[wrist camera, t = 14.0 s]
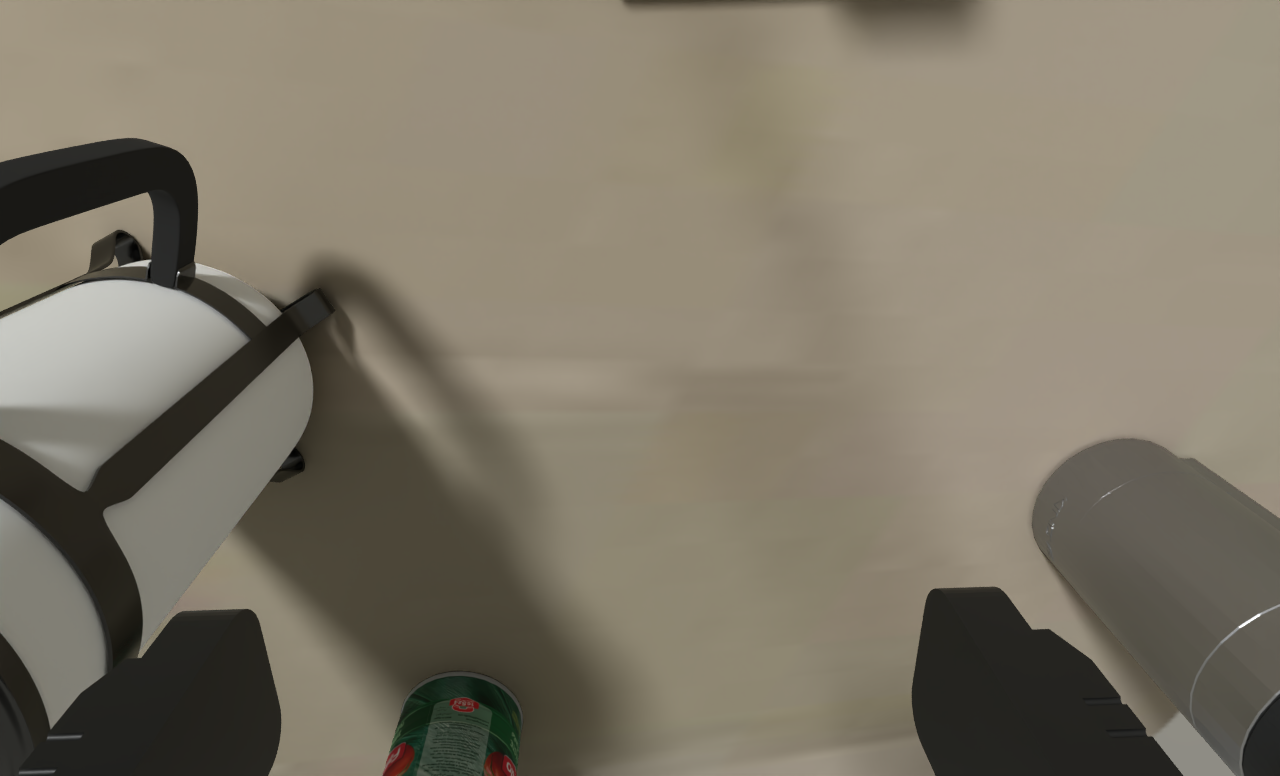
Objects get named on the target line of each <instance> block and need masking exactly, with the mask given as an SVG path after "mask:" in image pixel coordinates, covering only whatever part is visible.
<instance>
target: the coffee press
mask: <svg viewBox="0 0 1280 776" xmlns="http://www.w3.org/2000/svg"><path fill="white" fill-rule="evenodd" d="M146 192H148V193H149V195H150V198H151V200H152V204H153V211H154V227H153V242H152V255H151V260H144V261H143V256H142V251H141V248H140V246H139V244H138V242H137V241H136V240H135V239H134V238H133V237H132V236H131V235H130V234H129V233H127V232H125V231H123V230H117V231H115V232H113V233H111V234H109V235H108V236H106V237H104V238H102V239H101V240H99V241H97V242H95V243H94V244H93V245H92V250H91V261H90V267H89V270H88V272H87V274H84V275H82V276H80V277H78V278H75V279H73V280H71V281H69V282H66V283H64V284H62V285H60V286H57V287H55V288H53V289H51V290H48V291H46V292H44V293H42V294H39V295H37V296H35V297H33V298H30V299H28V300H26V301H23V302H21V303H19V304H17V305H14V306H12V307H10V308H8V309H5V310H3V311H1V312H0V776H18V774H19V768H20V767H21V765H22V764H23V763H24V762H25V760H26V759H27V758H28V757H29V756H30V754H31V753H32V752H33V751H34V749H35V748H36V747H37V746H38V745H39V743H40V742H46V740H47V737H48V735H47V734H48V732H49V731H50V730H51V729H52V727H53V726H54V725H55V724H56V723H57V721H58V720H59V719H60V718H61V716H62V715H63V714H64V713H65V711H66V710H67V709H68V708H69V707H70V705H71V704H72V703H73V702H74V700H75V699H76V698H77V697H78V696H79V694H80V693H81V692H83V691H84V690H85V689H87V688H88V687H89V686H91V685H92V684H93V683H95V682H96V681H97V680H99V679H100V678H101V677H103V676H104V675H106V674H107V673H108V672H110V671H111V670H112V669H114V668H115V667H116V666H118V665H119V664H120V663H122V662H123V661H124V660H126V659H129V658H137V657H138V654H139V651H140V650H141V649H142V647H143V646H144V645H145V643H146V642H147V641H148V639H149V638H150V637H151V636H152V634H153V633H154V632H155V630H156V629H157V628H158V626H159V625H160V624H161V622H162V621H163V620H164V619H165V617H166V616H167V615H168V613H169V612H170V611H171V609H172V608H173V607H174V605H175V604H176V603H177V602H178V600H179V599H180V598H181V596H182V595H183V594H184V592H185V591H186V590H187V588H188V587H189V586H190V585H191V583H192V582H193V581H194V579H195V578H196V577H197V575H198V574H199V573H200V571H201V570H202V569H203V567H204V566H205V565H206V564H207V562H208V561H209V560H210V558H211V557H212V556H213V554H214V553H215V552H216V550H217V549H218V548H219V547H220V545H221V544H222V543H223V541H224V540H225V539H226V537H227V536H228V535H229V533H230V532H231V531H232V529H233V528H234V527H235V526H236V524H237V523H238V522H239V520H240V519H241V518H242V516H243V515H244V514H245V512H246V511H247V510H248V508H249V507H250V506H251V505H252V503H253V502H254V501H255V499H256V498H257V497H258V495H259V494H260V493H261V491H262V490H263V489H264V487H265V486H266V485H267V484H268V482H269V481H270V482H283V481H285V480H287V479H289V478H291V477H293V476H295V475H297V474H299V473H301V472H303V471H304V469H305V462H304V459H303V457H302V455H301V454H300V452H299V451H298V450H297V449H295V448H294V447H295V446H296V444H297V443H298V441H299V439H300V438H301V436H302V434H303V432H304V430H305V428H306V426H307V423H308V420H309V417H310V414H311V409H312V403H313V379H312V372H311V368H310V364H309V360H308V357H307V354H306V352H305V349H304V347H303V345H302V343H301V341H300V339H299V337H300V336H301V335H302V334H303V333H304V332H306V331H307V330H309V329H310V328H311V327H313V326H314V325H316V324H317V323H319V322H320V321H322V320H323V319H325V318H326V317H328V316H329V315H330V314H332V313H333V312H334V311H335V309H334V307H333V306H332V304H331V303H330V302H329V300H328V299H327V297H326V296H325V294H324V293H323V291H322V290H321V289H320V288H318V289H315V290H313V291H311V292H310V293H308V294H306V295H304V296H303V297H301V298H299V299H298V300H296V301H294V302H293V303H291V304H290V305H288V306H286V307H285V308H283V309H281V310H279V309H278V308H277V307H276V306H275V305H274V304H273V303H272V302H271V301H269V300H268V299H267V298H266V297H265V296H264V295H262V294H261V293H260V292H259V291H257V290H256V289H254V288H253V287H252V286H250V285H248V284H247V283H245V282H244V281H242V280H240V279H238V278H236V277H234V276H232V275H230V274H228V273H225V272H223V271H220V270H218V269H215V268H212V267H208V266H205V265H201V264H197V263H195V262H194V255H195V246H196V236H197V222H198V194H197V186H196V180H195V176H194V173H193V170H192V168H191V166H190V164H189V162H188V161H187V160H186V158H185V157H184V156H183V155H182V154H181V153H179V152H178V151H176V150H174V149H172V148H169V147H166V146H163V145H160V144H157V143H153V142H150V141H147V140H142V139H137V138H124V139H114V140H107V141H101V142H95V143H90V144H85V145H79V146H74V147H69V148H64V149H59V150H54V151H49V152H44V153H39V154H34V155H30V156H25V157H21V158H16V159H12V160H8V161H4V162H0V245H1V244H3V243H4V242H6V241H7V240H9V239H11V238H13V237H15V236H17V235H19V234H21V233H24V232H26V231H29V230H32V229H35V228H37V227H40V226H43V225H46V224H49V223H52V222H55V221H58V220H61V219H64V218H68V217H71V216H74V215H77V214H80V213H83V212H86V211H89V210H92V209H95V208H98V207H101V206H105V205H108V204H111V203H114V202H117V201H120V200H123V199H126V198H129V197H133V196H136V195H139V194H142V193H146ZM114 254H115V256H116V258H117V260H118V265H119V267H117V268H110V269H105V270H103V269H104V268H106V267H108V266H109V265H110V264H111V263H112V261H113V259H114ZM82 281H84V282H82ZM79 282H82V283H79ZM77 283H79V284H77ZM75 284H77V285H75ZM73 285H75V286H73ZM71 286H73V287H71ZM69 287H70V288H69ZM67 288H68V289H67ZM64 289H66V290H64ZM62 290H64V291H62ZM60 291H62V292H60ZM58 292H59V293H58ZM56 293H57V294H56ZM54 294H55V295H54ZM51 295H53V296H51ZM49 296H51V297H49ZM47 297H48V298H47ZM45 298H46V299H45ZM43 299H44V300H43ZM40 300H42V301H40ZM38 301H39V302H38ZM36 302H37V303H36ZM34 303H35V304H34ZM32 304H33V305H32ZM29 305H31V306H29ZM27 306H28V307H27ZM25 307H26V308H25ZM23 308H24V309H23ZM21 309H22V310H21ZM18 310H20V311H18ZM16 311H17V312H16ZM14 312H15V313H14ZM12 313H13V314H12ZM10 314H11V315H10ZM7 315H9V316H7ZM5 316H6V317H5ZM3 317H4V318H3ZM1 318H2V319H1ZM280 466H281V467H282V469H279V468H280ZM278 469H279V470H278Z"/></svg>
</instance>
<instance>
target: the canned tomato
mask: <svg viewBox="0 0 1280 776" xmlns="http://www.w3.org/2000/svg"><path fill="white" fill-rule="evenodd" d="M522 725H523V715H522V709H521V707H520V704H519V702H518V700H517V699H516V697H515V696H514V694H513V693H512V692H511V691H510V690H509V689H508V688H507V687H506V686H504V685H503V684H501V683H499V682H498V681H496V680H494V679H492V678H490V677H487V676H485V675H481V674H477V673H473V672H463V671H459V672H447V673H442V674H438V675H435V676H432V677H430V678H427V679H426V680H424V681H422V682H421V683H419V684H418V685H417V686H416V687H415V688H413V689H412V690H411V691H410V693H409V694H408V696H407V697H406V699H405V701H404V704H403V706H402V709H401V717H400V720H399V722H398V725H397V728H396V732H395V735H394V738H393V741H392V746H391V748H390V751H389V756H388V759H387V761H386V766H385V769H384V772H383V776H516V772H517V765H518V756H519V747H520V735H521V731H522Z"/></svg>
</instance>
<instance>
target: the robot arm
mask: <svg viewBox="0 0 1280 776" xmlns="http://www.w3.org/2000/svg"><path fill="white" fill-rule="evenodd" d="M1032 527H1033V533H1034V538H1035V540H1036V542H1037V544H1038V546H1039V548H1040V549H1041V551H1042V552H1043V553H1044V554H1045V555H1046V556H1047V558H1048V559H1049V560H1050V561H1051V562H1052V563H1053V565H1054V566H1055V567H1056V568H1057V569H1058V570H1059V572H1060V573H1061V574H1062V575H1063V576H1064V577H1065V578H1066V580H1067V581H1068V582H1069V583H1070V584H1071V585H1072V587H1073V588H1074V589H1075V590H1076V592H1077V593H1078V594H1079V595H1080V596H1081V598H1082V599H1083V600H1084V601H1085V602H1086V603H1087V604H1088V606H1089V607H1090V608H1091V609H1092V610H1093V611H1094V613H1095V614H1096V615H1097V616H1098V617H1099V618H1100V620H1101V621H1102V622H1103V623H1104V624H1105V625H1106V626H1107V628H1108V629H1109V630H1110V631H1111V632H1112V633H1113V635H1114V636H1115V637H1116V638H1117V639H1118V640H1119V641H1120V643H1121V644H1122V645H1123V646H1124V647H1125V648H1126V650H1127V651H1128V652H1129V653H1130V654H1131V655H1132V657H1133V658H1134V659H1135V660H1136V661H1137V662H1138V663H1139V665H1140V666H1141V667H1142V668H1143V669H1144V670H1145V672H1146V673H1147V674H1148V675H1149V676H1150V677H1151V678H1152V680H1153V681H1154V682H1155V683H1156V684H1157V685H1158V687H1159V688H1160V689H1161V690H1162V691H1163V692H1164V694H1165V695H1166V696H1167V697H1168V698H1169V699H1170V700H1171V702H1172V703H1173V704H1174V705H1175V706H1176V707H1177V709H1178V710H1179V711H1180V712H1181V713H1182V714H1183V715H1184V716H1185V718H1186V719H1187V720H1188V721H1189V722H1190V723H1191V725H1192V726H1193V727H1194V728H1195V729H1196V730H1197V732H1198V733H1199V734H1200V735H1201V736H1202V737H1203V738H1204V739H1205V741H1206V742H1207V743H1208V744H1209V745H1210V746H1211V747H1212V749H1213V750H1214V751H1215V752H1216V753H1217V754H1218V756H1220V758H1221V759H1222V760H1223V761H1224V762H1225V764H1226V765H1227V766H1228V767H1229V768H1230V769H1231V771H1232V772H1233V773H1234V774H1235V775H1236V776H1280V518H1278V517H1277V516H1276V515H1274V514H1273V513H1271V512H1270V511H1268V510H1267V509H1266V508H1264V507H1263V506H1261V505H1260V504H1258V503H1257V502H1256V501H1254V500H1253V499H1251V498H1250V497H1248V496H1247V495H1246V494H1244V493H1243V492H1241V491H1240V490H1238V489H1237V488H1236V487H1234V486H1233V485H1231V484H1230V483H1228V482H1227V481H1226V480H1224V479H1223V478H1221V477H1220V476H1218V475H1217V474H1216V473H1214V472H1213V471H1211V470H1210V469H1208V468H1207V467H1206V466H1204V465H1203V464H1201V463H1200V462H1198V461H1197V460H1196V459H1193V458H1190V459H1182V458H1178V457H1176V456H1175V455H1174V454H1172V453H1171V452H1169V451H1168V450H1167V449H1165V448H1164V447H1162V446H1160V445H1157V444H1155V443H1152V442H1150V441H1145V440H1139V439H1117V440H1113V441H1108V442H1103V443H1100V444H1097V445H1095V446H1092V447H1090V448H1087V449H1085V450H1083V451H1081V452H1080V453H1078V454H1077V455H1075V456H1073V457H1072V458H1070V459H1069V460H1067V461H1066V462H1065V463H1064V464H1063V465H1062V466H1060V467H1059V468H1058V469H1057V470H1056V471H1055V472H1054V473H1053V474H1052V476H1051V477H1050V478H1049V479H1048V480H1047V482H1046V483H1045V484H1044V486H1043V488H1042V490H1041V492H1040V493H1039V495H1038V497H1037V500H1036V503H1035V506H1034V510H1033V518H1032ZM912 708H913V715H914V721H915V726H916V729H917V733H918V736H919V739H920V742H921V744H922V746H923V749H924V751H925V753H926V755H927V757H928V760H929V762H930V764H931V766H932V768H933V771H934V773H935V775H936V776H1183V775H1182V774H1181V772H1180V771H1179V770H1178V768H1177V767H1176V766H1175V765H1174V764H1173V762H1172V761H1171V760H1170V758H1169V757H1168V756H1167V755H1166V753H1165V752H1164V751H1163V749H1162V748H1161V747H1160V746H1159V744H1158V743H1157V742H1156V741H1155V740H1154V738H1153V737H1148V736H1147V734H1146V728H1145V727H1144V726H1143V724H1142V723H1141V722H1140V720H1139V719H1138V718H1137V717H1136V715H1135V714H1134V713H1133V712H1132V710H1131V709H1130V708H1129V707H1128V705H1127V704H1122V703H1121V696H1120V695H1119V694H1118V693H1117V691H1116V690H1115V689H1114V688H1113V686H1112V685H1111V684H1110V683H1109V681H1108V680H1107V679H1106V678H1105V676H1104V675H1103V674H1102V673H1101V671H1100V670H1099V669H1098V667H1097V666H1096V665H1095V664H1094V662H1093V661H1092V660H1091V659H1090V658H1088V657H1087V656H1086V655H1084V654H1083V653H1081V652H1080V651H1079V650H1077V649H1076V648H1075V647H1073V646H1072V645H1070V644H1069V643H1068V642H1066V641H1065V640H1063V639H1062V638H1061V637H1059V636H1058V635H1057V634H1055V633H1054V632H1052V631H1051V630H1050V629H1038V630H1032V629H1031V628H1030V626H1029V625H1028V623H1027V622H1026V621H1025V619H1024V618H1023V617H1022V615H1021V614H1020V612H1019V611H1018V610H1017V608H1016V607H1015V606H1014V604H1013V603H1012V602H1011V600H1010V599H1009V597H1008V596H1007V595H1006V594H1005V593H1004V591H1002V590H1001V589H1000V588H998V587H968V588H938V589H933V590H931V591H930V593H929V594H928V596H927V599H926V603H925V609H924V615H923V621H922V628H921V634H920V640H919V646H918V653H917V659H916V665H915V672H914V678H913V685H912ZM280 734H281V710H280V705H279V700H278V696H277V692H276V688H275V684H274V680H273V676H272V672H271V668H270V664H269V659H268V655H267V651H266V647H265V643H264V639H263V635H262V631H261V627H260V623H259V620H258V618H257V616H256V614H255V613H254V612H253V611H251V610H249V609H232V610H202V611H182V612H180V613H178V614H176V615H175V616H174V617H173V618H172V619H171V620H170V621H169V622H168V624H167V625H166V626H165V628H164V629H163V630H162V632H161V633H160V634H159V636H158V637H157V638H156V640H155V641H154V642H153V643H152V645H151V646H150V647H149V649H148V650H147V651H146V653H145V654H144V655H143V657H142V658H129V659H126V660H124V661H123V662H122V663H120V664H119V665H118V666H116V667H115V668H114V669H112V670H111V671H110V672H108V673H107V674H106V675H104V676H103V677H101V678H100V679H99V680H97V681H96V682H95V683H93V684H92V685H91V686H89V687H88V688H87V689H85V690H84V691H83V692H81V693H80V694H79V696H78V697H77V698H76V699H75V700H74V702H73V703H72V704H71V705H70V707H69V708H68V709H67V710H66V711H65V713H64V714H63V715H62V716H61V718H60V719H59V720H58V721H57V723H56V724H55V725H54V726H53V727H52V729H51V730H50V731H49V732H48V734H47V735H48V737H47V740H46V742H40V743H39V745H38V746H37V747H36V748H35V749H34V751H33V752H32V753H31V754H30V756H29V757H28V758H27V759H26V760H25V762H24V763H23V764H22V765H21V767H20V768H19V774H18V776H268V774H269V772H270V770H271V768H272V766H273V763H274V761H275V758H276V754H277V750H278V746H279V741H280Z"/></svg>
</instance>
